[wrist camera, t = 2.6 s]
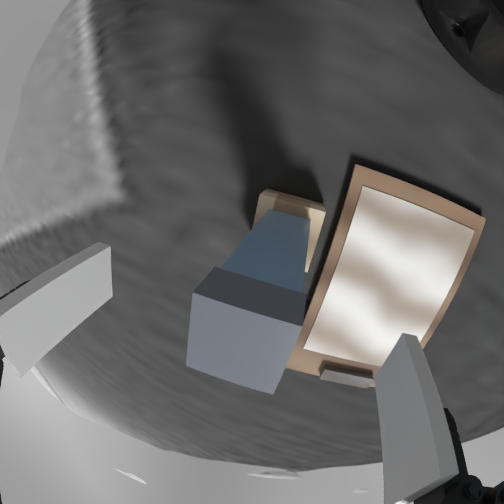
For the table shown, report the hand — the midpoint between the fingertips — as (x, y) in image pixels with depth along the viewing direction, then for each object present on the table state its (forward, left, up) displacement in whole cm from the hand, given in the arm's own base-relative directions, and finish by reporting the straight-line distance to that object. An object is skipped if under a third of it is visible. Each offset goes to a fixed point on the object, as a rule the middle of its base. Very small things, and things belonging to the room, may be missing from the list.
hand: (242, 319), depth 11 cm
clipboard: (+4, +11, -14) cm, 18 cm away
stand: (0, 0, -14) cm, 14 cm away
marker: (0, 0, -12) cm, 13 cm away
